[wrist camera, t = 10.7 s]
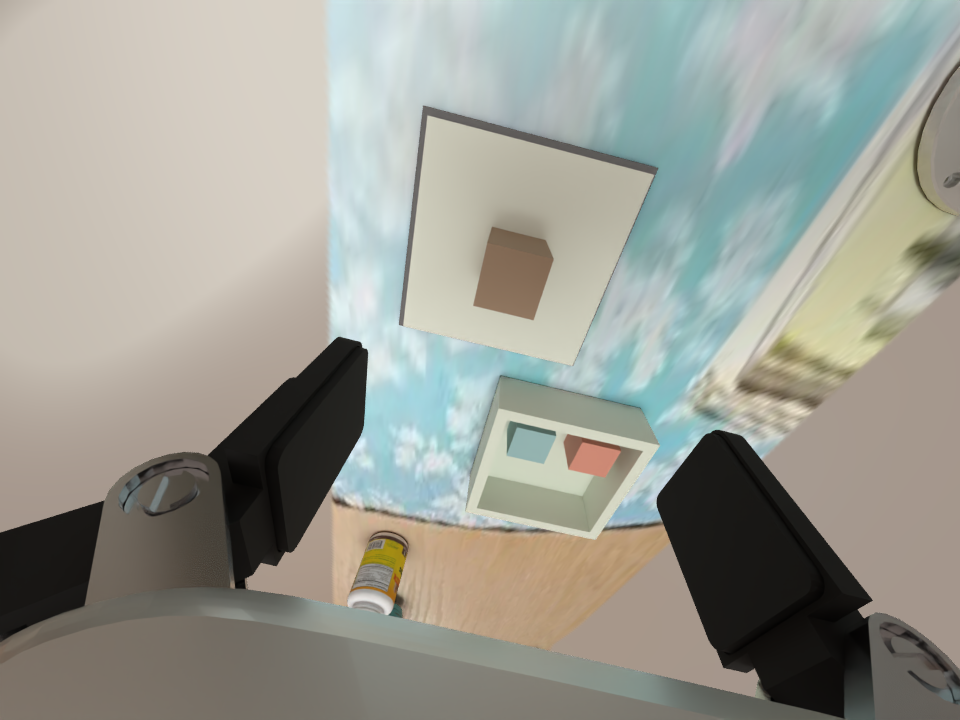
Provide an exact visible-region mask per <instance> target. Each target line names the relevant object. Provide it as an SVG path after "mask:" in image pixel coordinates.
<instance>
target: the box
mask: <svg viewBox="0 0 960 720" xmlns="http://www.w3.org/2000/svg"><path fill="white" fill-rule="evenodd" d="M510 421H513V422H518V423H522V424H526V425H531V426H535V427H539V428H544V429H548V430H553V431H556V439H555V441H554V443H553V445H552V447H551V449H550V452H549V454H548V456H547V458H546V460H545V462H544V464H541V463H537V462H532V461H528V460H523V459H519V458H514V457H510V456H507V428H508V425H509V423H510ZM567 434H570V435H574V436H579V437H583V438H588V439H592V440H596V441H601V442H605V443H610V444H614V445H618V446H620V449H621V452H620V454H619V456H618V457H617V459H616V461H615V462H614V464H613V465H612V467H611V469H610V470H609V472H608V474H607V475H606V477H605V478H604V477H599V476H595V475H591V474H586V473H582V472H577V471H573V470H568V465H567V459H566V454H565V448H564V443H563V442H564V440H565V438H566V436H567ZM659 446H660V444H659V443H658V441H657V439H656V437H655V435H654V433H653V431H652V429H651V427H650V425H649V423H648V421H647V419H646V417H645V416H644V414H643V412H642V410H641V408H637V407H633V406H628V405H624V404H620V403H616V402H611V401H607V400H603V399H598V398H594V397H590V396H586V395H581V394H577V393H573V392H568V391H564V390H560V389H556V388H551V387H547V386H543V385H539V384H534V383H530V382H526V381H521V380H517V379H513V378H509V377H504V376H500V379H499V382H498V385H497V388H496V392H495V395H494V398H493V401H492V405H491V408H490V411H489V414H488V418H487V421H486V424H485V427H484V431H483V434H482V437H481V441H480V444H479V447H478V450H477V454H476V457H475V460H474V463H473V467H472V470H471V473H470V480H469V488H468V495H467V503H466V510H465V512H468V513H473V514H477V515H482V516H487V517H491V518H496V519H500V520H505V521H510V522H514V523H519V524H524V525H528V526H533V527H538V528H542V529H547V530H552V531H556V532H561V533H566V534H570V535H575V536H580V537H584V538H589V539H593V540H596V538H597V537H598V535H599V534H600V532H601V531H602V529H603V528H604V527H605V525H606V524H607V522H608V521H609V519H610V518H611V516H612V515H613V513H614V512H615V510H616V509H617V508H618V506H619V505H620V503H621V502H622V500H623V499H624V497H625V496H626V494H627V493H628V491H629V490H630V489H631V487H632V486H633V484H634V483H635V481H636V480H637V478H638V477H639V475H640V474H641V473H642V471H643V470H644V468H645V467H646V465H647V464H648V462H649V461H650V459H651V458H652V456H653V455H654V454H655V452H656V451H657V449H658V448H659Z"/></svg>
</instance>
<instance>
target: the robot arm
mask: <svg viewBox="0 0 960 720" xmlns="http://www.w3.org/2000/svg"><path fill="white" fill-rule="evenodd" d="M917 171H918V176H919V181H920V185H921V188H922V189H923V191H924V193H925V194H926V196H927V198H928V199H929V200H930V201H931V202H932V203H933V204H934V205H936V206H937V207H938V208H939V209H941V210H943V211H946V212H948V213H950V214H953V215H957V216H960V66H959V68H958V69H957V70H956V71H955V73H954V74H953V75H952V77H951V78H950V80H949V81H948V83H947V84H946V86H945V88H944V89H943V91H942V93H941V94H940V96H939V98H938V99H937V101H936V103H935V104H934V107H933V109H932V111H931V113H930V116H929V118H928V120H927V122H926V125H925V127H924V130H923V134H922V138H921V141H920V145H919V149H918V164H917ZM367 363H368V350H367V349H364V348H362V344H361V342H358V341H354V340H350V339H346V338H342V337H338V338H336V339H335V340H334V341H333V342H332V343H331V344H330V345H329V346H328V347H327V348H326V349H325V350H324V351H323V352H322V353H321V354H320V355H319V356H318V357H317V358H316V359H315V360H314V361H313V362H312V363H311V364H310V365H308V366H307V368H305V369H304V370H303V371H302V372H301V373H300V374H299V375H298V376H297V377H296V378H294V377H293V378H289V379H288V380H287V381H286V382H284V383H283V384H282V385H281V386H280V387H279V388H278V389H277V390H276V391H275V392H274V393H273V394H272V395H271V396H270V397H268V399H266V400H265V401H264V402H263V403H262V404H261V405H260V406H259V407H258V408H257V409H256V410H255V411H254V412H253V413H252V414H251V415H250V416H249V417H248V418H246V419H245V420H244V421H243V422H242V423H241V424H240V425H239V426H238V427H237V428H236V429H235V430H234V431H233V432H232V433H231V434H230V435H229V436H228V437H227V438H225V439H224V440H223V441H222V442H221V443H220V444H219V445H218V446H217V447H216V448H215V449H214V450H213V451H212V452H211V453H210V454H209V455H208V456H207V455H204V454H200V453H191V452H182V453H174V454H168V455H164V456H161V457H158V458H155V459H151V460H149V461H148V462H145V463H143V464H141V465H139V466H137V467H135V468H133V469H132V470H131V471H130V472H128V473H126V474H125V475H124V476H122V477H121V478H120V479H119V480H118V481H117V482H116V483H115V485H114V486H113V487H112V488H111V489H110V490H109V492H108V495H107V497H106V499H105V501H101V502H98V503H95V504H92V505H88V506H85V507H82V508H79V509H75V510H73V511H69V512H66V513H63V514H59V515H56V516H53V517H50V518H47V519H43V520H40V521H37V522H33V523H30V524H27V525H24V526H20V527H17V528H14V529H11V530H7V531H4V532H1V533H0V720H960V670H959V668H958V667H957V666H956V665H955V664H954V663H953V662H952V661H951V659H949V657H948V656H947V655H946V654H945V653H943V652H942V651H941V650H940V649H939V648H938V647H937V646H936V645H935V644H934V643H932V642H931V641H930V640H929V639H928V638H926V637H925V636H924V635H922V634H921V633H919V632H918V631H917V630H916V629H914V628H913V627H911V626H909V625H908V624H906V623H904V622H903V621H901V620H900V619H897V618H894V617H892V616H890V615H888V614H883V613H874V614H872V615H870V616H868V617H866V618H863V617H862V615H861V614H860V613H859V611H858V610H857V609H859V608H861V607H862V606H864V605H866V604H868V603H869V602H871V601H873V600H872V599H871V597H870V596H869V595H868V594H867V592H866V591H865V590H864V589H863V587H862V586H861V585H860V584H859V582H858V581H857V580H856V579H855V577H854V576H853V575H852V574H851V572H850V571H849V570H848V568H847V567H846V566H845V565H844V563H843V562H842V561H841V560H840V558H839V557H838V556H837V555H836V553H835V552H834V551H833V550H832V548H831V547H830V546H829V545H828V543H827V542H826V541H825V540H824V538H823V537H822V536H821V534H820V533H819V532H818V531H817V529H816V528H815V527H814V526H813V524H812V523H811V522H810V521H809V519H808V518H807V517H806V515H805V514H804V513H803V512H802V511H801V509H800V508H799V507H798V506H797V504H796V503H795V502H794V500H793V499H792V498H791V497H790V495H789V494H788V493H787V492H786V490H785V489H784V488H783V486H782V485H781V484H780V483H779V481H778V480H777V479H776V478H775V476H774V475H773V474H772V473H771V472H770V470H769V469H768V468H767V466H766V465H765V464H764V462H763V461H762V460H761V459H760V457H759V456H758V455H757V454H756V452H755V451H754V450H753V449H752V447H751V446H750V445H749V444H748V442H747V441H746V440H745V439H744V438H743V437H742V436H740V435H737V434H733V433H729V432H725V431H721V430H715V431H712V432H711V433H708V434H706V435H705V436H704V437H703V438H702V439H701V440H700V442H699V443H698V444H697V445H696V447H695V448H694V449H693V451H692V452H691V453H690V454H689V456H688V457H687V458H686V460H685V461H684V462H683V463H682V465H681V466H680V467H679V469H678V470H677V471H676V472H675V474H674V475H673V476H672V478H671V479H670V480H669V481H668V483H667V484H666V485H665V487H664V488H663V489H662V490H661V492H660V493H659V495H658V497H657V508H658V511H659V513H660V516H661V519H662V521H663V524H664V526H665V529H666V531H667V534H668V537H669V539H670V542H671V544H672V547H673V549H674V552H675V555H676V557H677V560H678V562H679V565H680V568H681V570H682V573H683V575H684V578H685V580H686V583H687V586H688V588H689V591H690V593H691V596H692V598H693V601H694V604H695V606H696V609H697V611H698V614H699V616H700V619H701V622H702V624H703V627H704V629H705V632H706V635H707V637H708V639H709V641H710V643H711V645H712V646H713V647H714V648H715V649H716V650H717V653H718V655H719V658H720V660H721V663H722V665H723V668H727V669H732V670H736V671H740V672H744V673H747V672H749V671H751V670H753V669H754V668H755V670H756V672H757V674H758V676H759V680H758V684H757V689H756V695H755V697H750V696H746V695H742V694H737V693H733V692H728V691H724V690H720V689H716V688H711V687H707V686H703V685H698V684H694V683H690V682H685V681H681V680H676V679H672V678H668V677H663V676H659V675H654V674H650V673H645V672H641V671H636V670H632V669H628V668H623V667H619V666H615V665H610V664H606V663H601V662H597V661H592V660H588V659H583V658H579V657H574V656H570V655H565V654H561V653H557V652H552V651H548V650H543V649H539V648H535V647H530V646H526V645H521V644H517V643H512V642H508V641H503V640H498V639H494V638H489V637H485V636H480V635H476V634H471V633H467V632H462V631H457V630H453V629H448V628H444V627H439V626H435V625H430V624H426V623H421V622H416V621H412V620H407V619H403V618H398V617H394V616H389V615H385V614H380V613H375V612H370V611H365V610H360V609H355V608H350V607H345V606H340V605H335V604H329V603H325V602H320V601H314V600H310V599H305V598H300V597H295V596H288V595H282V594H275V593H267V592H261V591H254V590H248V584H247V577H249V576H251V575H253V574H254V572H255V570H256V569H257V568H258V566H259V565H260V563H265V564H269V565H273V566H277V565H278V563H279V561H280V560H281V558H282V556H283V555H284V553H285V552H290V553H291V552H293V551H294V549H295V548H296V547H297V545H298V543H299V542H300V540H301V538H302V537H303V535H304V533H305V531H306V530H307V528H308V526H309V524H310V523H311V521H312V519H313V517H314V516H315V514H316V512H317V510H318V509H319V507H320V505H321V504H322V502H323V500H324V498H325V497H326V495H327V493H328V491H329V490H330V488H331V486H332V484H333V483H334V481H335V479H336V477H337V476H338V474H339V472H340V471H341V469H342V467H343V465H344V464H345V462H346V460H347V458H348V457H349V455H350V453H351V451H352V450H353V448H354V446H355V444H356V443H357V441H358V439H359V438H360V436H361V433H362V430H363V426H364V415H365V397H366V380H367Z"/></svg>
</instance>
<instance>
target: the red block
mask: <svg viewBox="0 0 960 720" xmlns="http://www.w3.org/2000/svg"><path fill="white" fill-rule="evenodd" d="M563 443H564V448H565V454H566V459H567V465H568V470H573V471H577V472H582V473H586V474H591V475H595V476H599V477H604V478H605V477H606V475H607V474H608V472H609V470H610V469H611V467H612V465H613V464H614V462H615V461H616V459H617V457H618V456H619V454H620V452H621V449H620V446H618V445H614V444H610V443H605V442H601V441H596V440H592V439H588V438H583V437H579V436H574V435H570V434H567V436H566V438H565V440H564V442H563Z"/></svg>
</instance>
